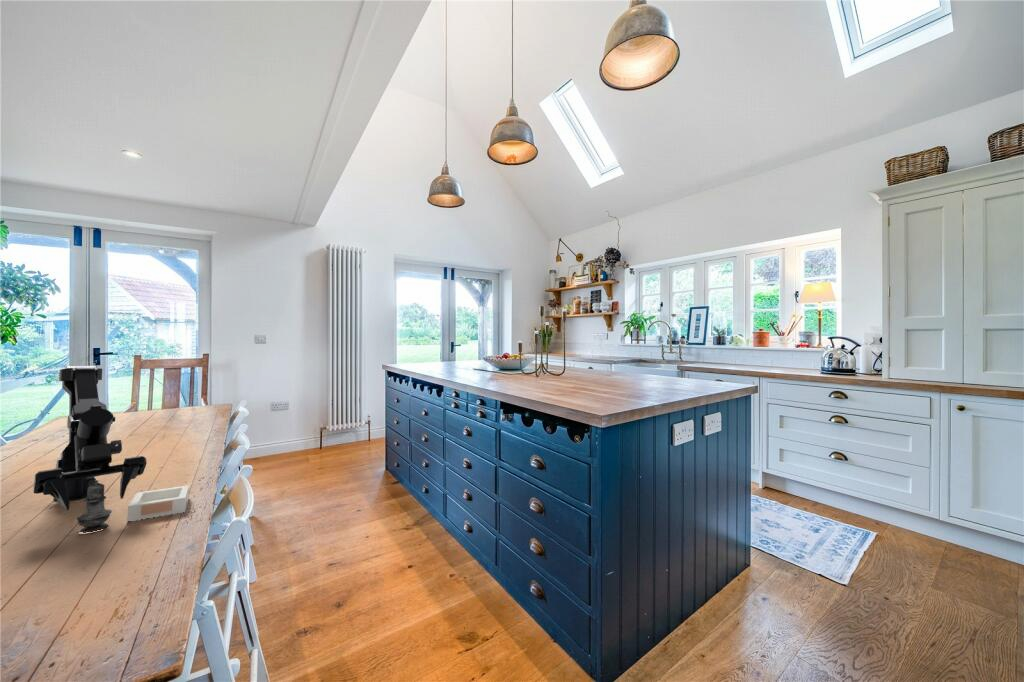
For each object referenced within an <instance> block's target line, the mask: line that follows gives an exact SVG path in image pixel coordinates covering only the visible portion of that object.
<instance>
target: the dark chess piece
mask: <svg viewBox="0 0 1024 682" xmlns="http://www.w3.org/2000/svg"><path fill="white" fill-rule="evenodd" d="M106 498H107V496H106V495H105V484H103V483H100V481H98V480H97V479H96V481H95V483H94V484H93V485H91V486H89V487H88V490H87V496H86V499H85V500H84V502H85V510H84V513H82V514H80V515H78V516H77V517H76V520H77V523H78V524H79V526H81V527H82V528H81V530H80V529H79V530H80V531H79V530H78V531H79V532H83V533H86V532H93V531H97V530H101V529H105V528H107V527H108V526H109V527H110V524H109V525H108V523H106V521H108V520H109V517H110V516H111V514H112V510H111V509H106V508H105V499H106ZM109 527H108V528H109ZM108 528H107V529H108ZM105 530H106V529H105Z"/></svg>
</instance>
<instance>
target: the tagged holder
mask: <svg viewBox="0 0 1024 682" xmlns="http://www.w3.org/2000/svg"><path fill="white" fill-rule="evenodd" d="M189 499H190V485H189V484H188V485H181V486H174V487H169V488H160V489H154V490H147V491H140V492H136V494H135V495H134V496H133V498H132V499H131V500H130V502H129V504H128V505H127V511H126V512H127V516H126V523H129V522H128V521H132V522H137V521H141V519H143V520H147V519H146V518H149V519H154V518H153V517H155V518H160V517H159V516H161V517H166V516H171V514H172V515H177V513H178V514H183V512H184V513H185V512H186V509H187V506H188V503H189ZM165 515H166V516H165ZM136 520H137V521H136Z"/></svg>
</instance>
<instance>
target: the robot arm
mask: <svg viewBox="0 0 1024 682" xmlns="http://www.w3.org/2000/svg"><path fill="white" fill-rule="evenodd" d="M58 381H59V382H61V383H62V384H61V387H62V390H64V391H65V392H66V394H68V395H69V415H68V416H67V422H66V426H67V429H68V430H69V431H68V444H67V445H66V447H65V448H63V450H62V452H61V453H60V458H57V460H56V464H55V468H52V469H51V468H50V469H45V470H39V471H37V473H35V474H34V480H33V494H36V495H37V494H42V495H43V496H47V495H50V496H51V497H52V500H53V501H58V503H59V504H60V505H61V506H62V507H63V508H64V510H65V511H68V510H70V500H71V501H73V500H82V499H84V498H87V490H88V487H89V486H91V485H93V484H94V483H95V481H96V480H97V479H96V478H95V477H100V476H107V475H112V474H118V473H121V477H120V485H119V496H120V499H124V496H125V494H126V490H127V488H128V485H129V483H130V482H131V480H135V479H136V478H137V477H139V476H141V475H143V474H144V471H145V470H146V469H145V468H146V466H147V464H148V463H147V457H145V456H144V455H140V456H139V455H138V456H132V457H125V458H124V460H123V463H121V464H116V465H110V464H111V463H112V461H113V458H112V457H113V455H117V454H121V453H122V452H123V451H122V450H123V445H122V444H123V443H122V439H117V440H111V441H110V442H108V439H107V435H109V433H110V431H111V430H110V429H111V426H112V424H113V422H116V417H115V415H114V414H113V413H112V412H111V411H110V410H108V409H107V405H106V404H105V403H104V402H102V401H100V400H99V393H98V390H99V389H98V383H99V381H103V368H100V367H96V365H65V368H60V369H59V371H58Z"/></svg>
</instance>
